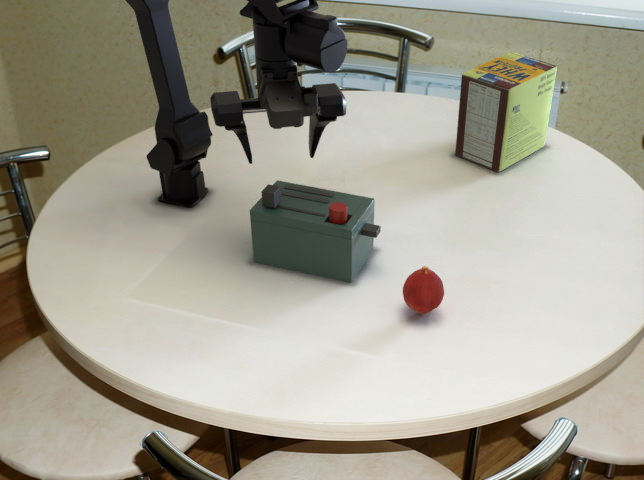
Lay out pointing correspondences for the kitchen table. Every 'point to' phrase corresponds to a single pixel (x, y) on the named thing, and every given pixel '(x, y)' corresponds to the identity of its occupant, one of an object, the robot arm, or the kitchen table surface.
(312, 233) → the toaster
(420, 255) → the kitchen table surface
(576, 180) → the kitchen table surface
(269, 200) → the slider
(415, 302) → the onion
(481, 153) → the protein box
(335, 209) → the button
